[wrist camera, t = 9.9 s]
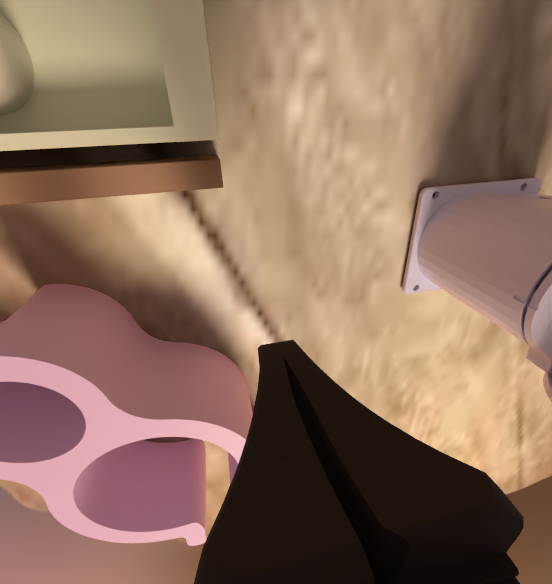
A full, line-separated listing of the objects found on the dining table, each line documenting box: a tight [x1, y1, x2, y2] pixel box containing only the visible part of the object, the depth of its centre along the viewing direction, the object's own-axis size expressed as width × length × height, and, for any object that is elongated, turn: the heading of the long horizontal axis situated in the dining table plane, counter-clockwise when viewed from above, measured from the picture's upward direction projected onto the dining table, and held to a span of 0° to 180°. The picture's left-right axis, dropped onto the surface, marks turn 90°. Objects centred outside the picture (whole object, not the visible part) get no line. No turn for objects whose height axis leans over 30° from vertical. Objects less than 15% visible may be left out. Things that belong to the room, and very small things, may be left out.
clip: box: [0, 284, 253, 546], centre depth 20 cm, size 20×12×7 cm, turn 35°
